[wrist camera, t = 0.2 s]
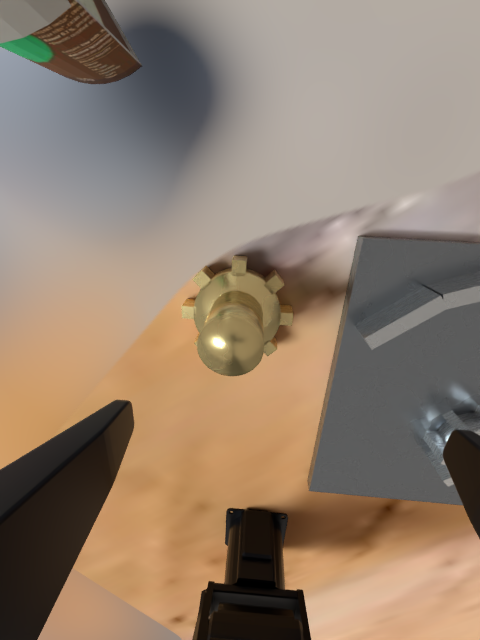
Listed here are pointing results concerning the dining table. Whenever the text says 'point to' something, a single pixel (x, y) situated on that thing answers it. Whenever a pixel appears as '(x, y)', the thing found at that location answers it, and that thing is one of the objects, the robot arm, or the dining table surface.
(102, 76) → the food container
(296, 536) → the dining table surface
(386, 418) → the carrier plate
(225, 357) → the gear
